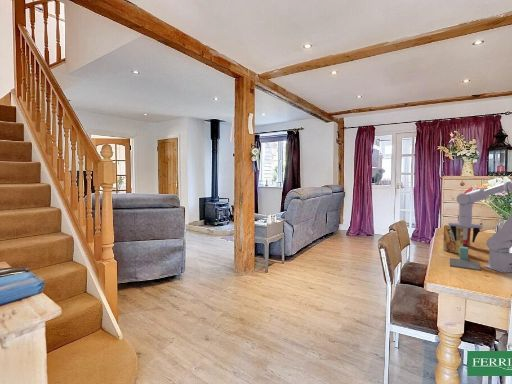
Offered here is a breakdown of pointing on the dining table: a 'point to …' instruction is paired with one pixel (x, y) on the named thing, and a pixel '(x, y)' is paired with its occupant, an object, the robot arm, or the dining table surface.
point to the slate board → (464, 264)
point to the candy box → (452, 239)
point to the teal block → (464, 253)
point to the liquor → (466, 236)
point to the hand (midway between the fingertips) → (464, 241)
